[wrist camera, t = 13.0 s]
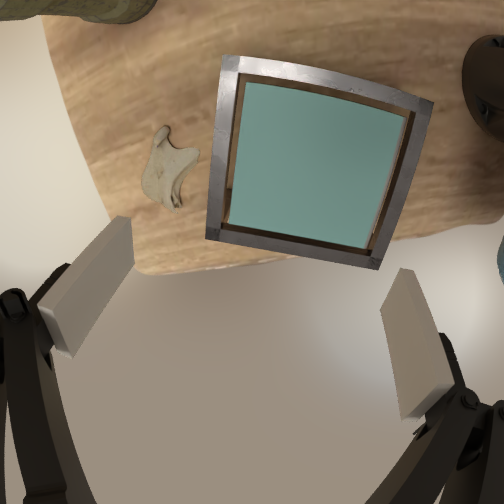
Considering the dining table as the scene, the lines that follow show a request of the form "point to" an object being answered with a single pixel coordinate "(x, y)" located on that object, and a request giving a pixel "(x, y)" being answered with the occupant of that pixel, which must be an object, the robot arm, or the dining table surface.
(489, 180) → the dining table surface
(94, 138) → the dining table surface
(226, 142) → the frame
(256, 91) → the trapdoor
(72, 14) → the thermos
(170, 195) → the fossil
